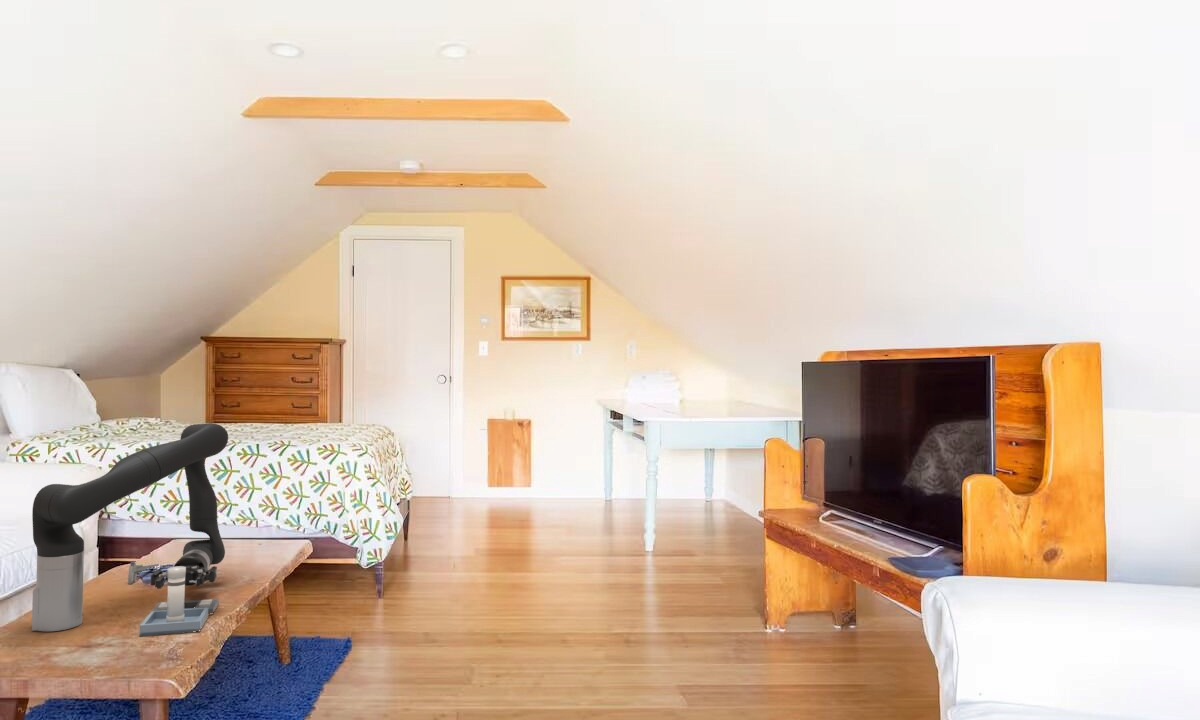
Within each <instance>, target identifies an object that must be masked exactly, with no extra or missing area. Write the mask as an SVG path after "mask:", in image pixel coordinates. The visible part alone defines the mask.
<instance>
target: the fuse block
mask: <svg viewBox="0 0 1200 720" xmlns="http://www.w3.org/2000/svg"><path fill="white" fill-rule="evenodd" d="M219 603H220V599H219V598H210V599H209V598H208V599H194V600H191V599H190V600H184V609H192V608H194V607H195V608H208V614H210V613H213V612H214V611H215V612H216V610H217V609H216V607H217V606H218V607H219V605H220V604H219ZM218 604H219V605H218ZM218 607H217V608H218ZM215 609H216V610H215ZM161 610H167V601H161V602H160V601H159V602H158V603H156V605H155V606H154V607H153V609H152V610H151V611H161ZM215 612H214V613H215Z"/></svg>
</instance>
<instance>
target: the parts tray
mask: <svg viewBox="0 0 1200 720" xmlns="http://www.w3.org/2000/svg"><path fill="white" fill-rule="evenodd" d="M166 615H167V610H161V611H152V610H151V611H150V612H149V614H148V615H147V616H146V617H145V619H144V620H143V621H142V622H141V623H140V625H139V637H148V636H149V637H150V636H163V635H165V634H166V635H174V634H173V633H180V634H184V633H183V632H193V631H199V630H200V629H201V627H202V626H203V624H204V622H205V621H206V619H207V617H208V618H209V615H208V608H192V609H184V621H182V622H168V623H166ZM207 620H208V619H207ZM206 622H207V621H206ZM206 622H205V623H206ZM204 625H205V624H204ZM203 627H204V626H203ZM201 630H202V629H201ZM166 635H165V636H166Z"/></svg>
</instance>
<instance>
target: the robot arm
mask: <svg viewBox="0 0 1200 720" xmlns="http://www.w3.org/2000/svg"><path fill="white" fill-rule="evenodd" d="M228 442H229V434H228V431H227V430H226V428H225V427H223V426H222V425H220V424H218V423H212V422H207V423H196V424H195V423H194V424H190V425H187V427H185V428H184V429H183V431H182V432H181V435H180V439H177V440H173V441H170V442H165V443H162V444H157V445H153V446H150V447H145V448H143V449H141V450H139V451H136V452H134V453H131V454H129V455H127V456H124V457H123V458H121V459H119V460H118V462H116V463H115V464H114V465H113V466H112V467H111V469H110V470H109V471H108V472H106V474H104V475H102V476H100V477H97V478H95V479H93V480H90V481H87V482H85V483H81V484H75V485H74V484H62V483H52V484H48V485H46V486H44V487H42V488H41V489H39V491H38V492H37V494H36V495H35V497H34V499H33V503H32V513H31V514H32V516H31V517H32V519H31V520H32V539H33V543H34V545H35V546H36V582H35V583H36V584H35V585H36V587H34V588H33V589H32V606H31V607H32V610H31V613H32V614H31V631H38V632H59V631H64V630H69V629H73V628H76V627H78V626H81V624H82V623H83V616H84V612H83V609H84V608H83V607H84V605H83V603H84V571H85V569H84V568H85V566H84V565H85V563H84V562H85V561H84V559H85V541H84V538H83V537H82V536H80V535H79V534H78V533H77V532H76V530H75V528H74V525H76V524H79V523H82V522H83V521H85V520H87V519H88V518H90V517H92V516H93V515H94V514H96V513H99V512H100V511H101V510H103V509H104V508H106V507H108V506H110V505H112V504H113V503H115V502H117V501H119V500H121V499H123V498H126V497H128V496H129V495H131V494H134V493H136V492H138V491H140V490H143V489H145V488H146V487H149V486H151V485H153V484H156V483H158V482H159V481H161V480H162V479H164V478H166V477H168V476H171V475H173V474H175V473H176V472H178V471H180V470H182V469H184V472H185V476H186V477H185V478H186V479H185V480H186V484H187V488H188V503H189V504H188V505H189V509H188V510H189V511H188V512H189V515H188V516H189V529H190V531H192V532H197V533H204V534H206V535H207V536H208V537H209V538H208V539H200V540H199V539H197V540H191V541H188V542H186V544H184V547H183V550H182V556H181V557H179V559H178V560H177V561H176V562H175V563H174V566H173V567H175V566H184V567H186V576H185V587H187V586H188V587H190V586H193V585H196V587H197V588H198V587H201V586H202V585H204V584H206V583H207V581H208V582H209V583H213V582H215V581H216V579H217V576H218V574H217V573H218V572H217V571H218V566H212V567H211V565H219V564H220V563H221V562H222V561H223V560H224V559H225V555H226V549H225V546H224V542H223V540H222V537H221V533H220V530H219V524H218V523H219V522H218V501H217V496H216V493H215V490H214V488H213V486H212V484H211V482H210V480H209V476H208V475H207V471H206V463H205V462H206V459H207V458H210V457H214V456H217V455H218V454H220V453H221V452H222V451H223V450H225V447H226V446H227V445H228ZM150 585H151V586H155V588H157V590H159V589H162V588H163V587H164V586H165V585H167V586H168V570H166V571H164V570H163V568H157V569H155V570H154V572H153V573H151V574H150Z"/></svg>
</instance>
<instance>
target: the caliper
mask: <svg viewBox="0 0 1200 720" xmlns="http://www.w3.org/2000/svg"><path fill="white" fill-rule="evenodd" d="M154 566H159V563H153V564H146V565H143V564H137V561H131V562H130V565H129V567H128V574H127V575H128V576H127V577H128V578H127V582H128V583H127V584H128V585H133V584H135V583H136V581H137V576H138V575H141V574H140V573H141V572H142V573H143V572H144V571H143V570H145V569H147V568H150V567H154Z"/></svg>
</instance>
